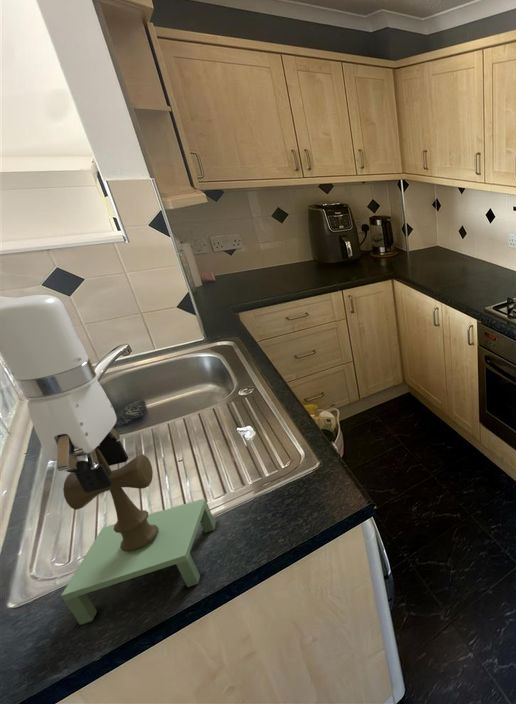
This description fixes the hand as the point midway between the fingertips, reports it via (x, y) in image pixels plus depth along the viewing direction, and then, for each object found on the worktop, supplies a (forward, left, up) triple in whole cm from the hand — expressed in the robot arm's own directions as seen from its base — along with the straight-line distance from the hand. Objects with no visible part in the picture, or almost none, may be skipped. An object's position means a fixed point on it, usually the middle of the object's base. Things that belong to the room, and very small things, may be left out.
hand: (107, 474), depth 66 cm
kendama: (0, 0, -15) cm, 15 cm away
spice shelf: (0, 0, -22) cm, 22 cm away
